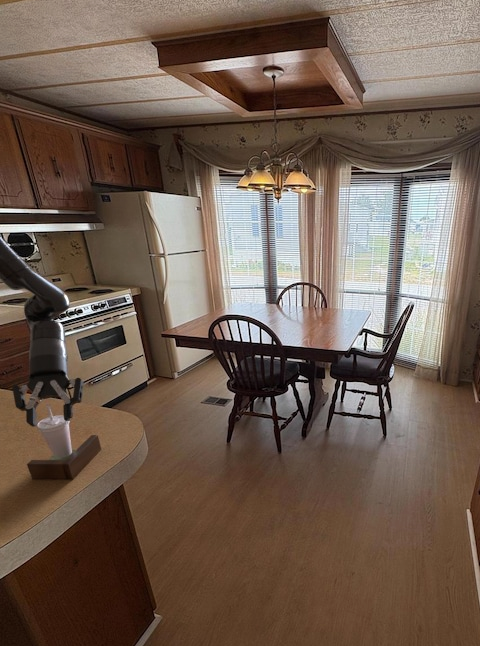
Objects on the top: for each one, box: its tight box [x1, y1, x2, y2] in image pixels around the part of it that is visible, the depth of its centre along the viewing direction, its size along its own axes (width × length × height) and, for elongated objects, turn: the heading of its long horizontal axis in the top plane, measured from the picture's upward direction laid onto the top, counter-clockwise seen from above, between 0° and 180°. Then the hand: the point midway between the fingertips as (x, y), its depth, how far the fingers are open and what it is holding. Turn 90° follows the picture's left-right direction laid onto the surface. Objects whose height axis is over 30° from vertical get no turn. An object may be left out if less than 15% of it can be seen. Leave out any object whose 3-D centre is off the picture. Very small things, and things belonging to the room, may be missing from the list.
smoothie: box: [36, 404, 73, 459], centre depth 84 cm, size 6×6×14 cm
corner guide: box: [26, 434, 102, 481], centre depth 85 cm, size 10×12×4 cm
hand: (50, 422), depth 81 cm, fingers closed on smoothie, 6 cm apart
